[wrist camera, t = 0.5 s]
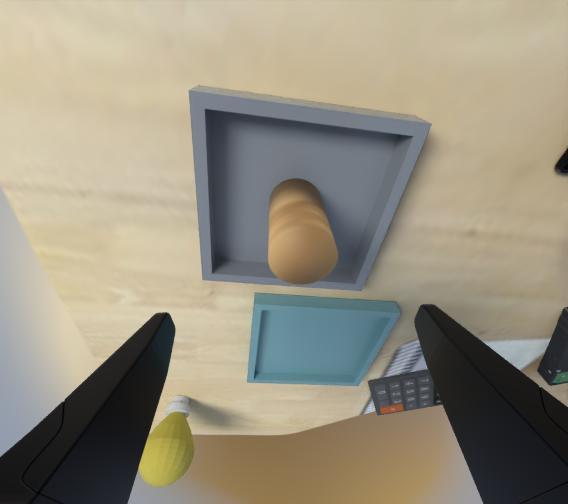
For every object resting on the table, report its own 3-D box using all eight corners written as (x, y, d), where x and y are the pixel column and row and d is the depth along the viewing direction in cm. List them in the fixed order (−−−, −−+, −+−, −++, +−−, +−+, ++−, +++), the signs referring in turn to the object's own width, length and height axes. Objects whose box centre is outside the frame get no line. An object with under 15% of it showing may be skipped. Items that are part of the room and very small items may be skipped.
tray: (395, 301, 29) (401, 313, 28) (355, 375, 38) (358, 386, 37) (254, 292, 27) (254, 304, 26) (247, 371, 36) (247, 382, 35)
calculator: (368, 384, 39) (481, 363, 36) (366, 378, 39) (477, 356, 37) (377, 416, 45) (473, 400, 43) (376, 410, 46) (469, 394, 44)
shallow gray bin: (415, 115, 18) (431, 123, 16) (355, 273, 26) (361, 290, 24) (198, 85, 16) (188, 90, 15) (207, 262, 25) (202, 279, 23)
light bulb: (169, 383, 38) (141, 474, 30) (212, 396, 40) (197, 482, 32) (150, 402, 41) (120, 488, 33) (191, 412, 43) (173, 495, 35)
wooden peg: (325, 181, 20) (346, 233, 14) (315, 227, 22) (329, 286, 17) (272, 175, 20) (271, 226, 14) (267, 222, 22) (265, 282, 16)
